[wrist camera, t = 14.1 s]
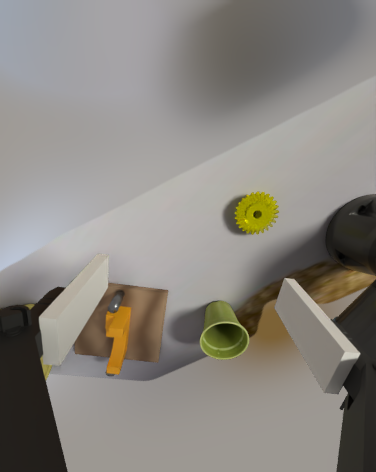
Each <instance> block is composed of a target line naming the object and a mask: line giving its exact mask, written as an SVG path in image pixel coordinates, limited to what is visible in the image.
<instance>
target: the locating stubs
mask: <svg viewBox="0 0 376 472" xmlns="http://www.w3.org/2000/svg"><path fill="white" fill-rule="evenodd" d="M124 296H125V292H124V291H123V290H117V291H116V293H115V295H114V296H113V298H112V300H111V302H110V304H109V306H108V311H109V312H110V313H116V312H117V311H118V309H119V307H120V305H121V303H122V300H123V298H124ZM106 375H108V376H114V375H115V374H110V373H107V370H106Z"/></svg>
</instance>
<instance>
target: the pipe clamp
mask: <svg viewBox="0 0 376 472" xmlns="http://www.w3.org/2000/svg"><path fill="white" fill-rule="evenodd" d="M130 315H131V308H130V307H123V306H120V307H119V309H118V311H117V312H116V313H110V312H109V311H108V312H107V314H106V325H105V329H106V337H114V342H113V348H112V352H111V356H110V359H109V362H108V365H107V373H110V374H119V373H120V370H121V367H122V364H123V360H124V357H125V354H126V351H127V345H128V335H129V325H130Z"/></svg>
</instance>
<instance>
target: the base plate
mask: <svg viewBox="0 0 376 472" xmlns="http://www.w3.org/2000/svg"><path fill="white" fill-rule="evenodd" d="M117 290H123V291H124V292H125V296H124V298H123V300H122V303H121V305H120V306H123V307H130V308H131V315H130V325H129V335H128V345H127V351H126V354H125V357H124V359H129V360H139V361H148V362H158V360H159V353H160V346H161V339H162V331H163V324H164V317H165V310H166V302H167V295H168V290H162V289H154V288H146V287H138V286H130V285H122V284H113V283H108V288H107V290H106V292H105V293H104V295H103V297H102V298H101V300H100V301H99V303H98V305H97V306H96V308H95V310H94V311H93V313H92V315H91V316H90V318H89V319H88V321H87V323H86V324H85V326H84V328H83V329H82V331H81V332H80V334H79V336H78V337H77V339H76V341H75V354H82V355H91V356H101V357H110V356H111V352H112V348H113V342H114V337H106V329H105V325H106V314H107V312H108V306H109V304H110V302H111V300H112V298H113V296H114V295H115V293H116V291H117Z"/></svg>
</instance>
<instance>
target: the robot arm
mask: <svg viewBox="0 0 376 472" xmlns="http://www.w3.org/2000/svg"><path fill="white" fill-rule="evenodd" d="M326 246H327V250H328V252H329V254H330V255H331V257H332V258H333V259H334V260H335V261H337V262H338V263H340V264H341V265H343V266H344V267H346V268H348V269H351V270H354V271H358V272H363V273H367V274H371V275H375V276H376V194H372V195H366V196H362V197H359V198H357V199H355V200H353V201H351V202H349V203H348V204H346V205H345V206H344V207H343V208H342V209H340V210H339V211H338V213H337V214H336V215H335V216H334V218H333V219H332V221H331V223H330V225H329V227H328V230H327V234H326ZM108 266H109V255H104V254H97V255H96V256H95V258H94V259H93V260H92V261H91V262H90V263H89V264H88V265H87V266H86V267H85V268H84V269H83V270H82V271H81V272H80V274H79V275H78V276H77V277H76V278H75V279H74V280H73V281H72V282H71V283H70V284H69V285H68V286H67V287H66V288H64V287H57V288H55V289H53V290H51V291H49V292H48V293H47V294H46V295H45V296H44V297H43V298H42V299H41V300H40V301H39V302H38V303H36V304H35V305H34V306H33V307H32V308H31V309H29V308H28V307H27V306H24V305H15V306H9V307H6V308H3V309H1V310H0V472H67V467H66V463H65V459H64V455H63V451H62V447H61V443H60V439H59V434H58V430H57V426H56V422H55V418H54V414H53V410H52V405H51V401H50V397H49V393H48V389H47V385H46V380H45V376H44V372H43V368H42V364H41V360H40V358H41V357H42V355H43V364H45V365H55V366H60V365H61V364H62V362H63V360H64V359H65V357H66V355H67V354H68V352H69V350H70V349H71V347H72V346H73V344H74V342H75V341H76V339H77V337H78V336H79V334H80V332H81V331H82V329H83V328H84V326H85V324H86V323H87V321H88V319H89V318H90V316H91V315H92V313H93V311H94V310H95V308H96V306H97V305H98V303H99V301H100V300H101V298H102V297H103V295H104V293H105V292H106V290H107V288H108ZM274 308H275V310H276V312H277V313H278V315H279V317H280V319H281V320H282V322H283V324H284V325H285V327H286V329H287V331H288V332H289V334H290V336H291V337H292V339H293V341H294V342H295V344H296V346H297V348H298V349H299V351H300V353H301V354H302V356H303V358H304V360H305V361H306V363H307V365H308V366H309V368H310V370H311V371H312V373H313V375H314V377H315V378H316V380H317V382H318V383H319V385H320V387H321V389H322V390H323V392H324V393H331V394H339V392H340V390H341V388H342V387H343V386H344V387H345V389H346V390H347V392H348V395H347V396H346V398H345V400H344V402H343V403H342V405H341V407H340V409H341V410H343V408H344V414H343V423H342V431H341V440H340V447H339V456H338V464H337V472H376V280H375V281H374V282H373V283H372V284H371V285H370V286H369V287H368V288H367V289H366V290H365V291H364V292H363V293H362V294H360V295H359V296H358V297H357V299H355V300H354V301H353V303H351V304H350V305H349V306H348V307H347V308H346V309H345V310H344V311H343V312H342V313H341V314H340V315H339V316H338V317H335V318H334V319H333V320H332V319H329V318H328V317H327V315H326V314H325V313H324V312H323V311H322V310H321V309H320V308H319V306H318V305H317V304H316V303H315V302H314V301H313V300H312V299H311V297H310V296H309V295H308V294H307V293H306V292H305V291H304V290H303V288H302V287H301V286H300V285H299V284H298V283H297V282H296V281H295V280H294V279H289V278H284V281H283V284H282V287H281V290H280V293H279V296H278V298H277V302H276V304H275V307H274Z"/></svg>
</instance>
